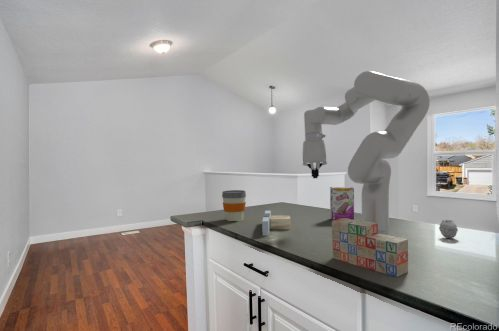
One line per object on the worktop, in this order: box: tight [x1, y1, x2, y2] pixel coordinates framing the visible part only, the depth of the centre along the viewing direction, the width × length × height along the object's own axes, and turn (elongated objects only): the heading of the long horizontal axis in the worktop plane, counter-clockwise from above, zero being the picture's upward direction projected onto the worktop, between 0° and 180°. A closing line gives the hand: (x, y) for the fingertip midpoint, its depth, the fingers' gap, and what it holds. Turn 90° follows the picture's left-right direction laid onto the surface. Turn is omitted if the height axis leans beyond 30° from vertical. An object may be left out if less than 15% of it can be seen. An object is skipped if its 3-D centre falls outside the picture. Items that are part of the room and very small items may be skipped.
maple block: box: [270, 215, 291, 230], centre depth 145 cm, size 7×9×5 cm
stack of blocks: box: [331, 218, 409, 278], centre depth 94 cm, size 21×6×12 cm, turn 36°
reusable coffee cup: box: [221, 189, 247, 222], centre depth 165 cm, size 13×13×15 cm
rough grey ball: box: [438, 219, 458, 239], centre depth 120 cm, size 6×7×7 cm
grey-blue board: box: [261, 210, 272, 237], centre depth 143 cm, size 26×2×6 cm, turn 174°
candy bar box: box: [329, 186, 355, 221], centre depth 159 cm, size 11×5×16 cm, turn 84°
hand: (315, 178), depth 142 cm, fingers closed
